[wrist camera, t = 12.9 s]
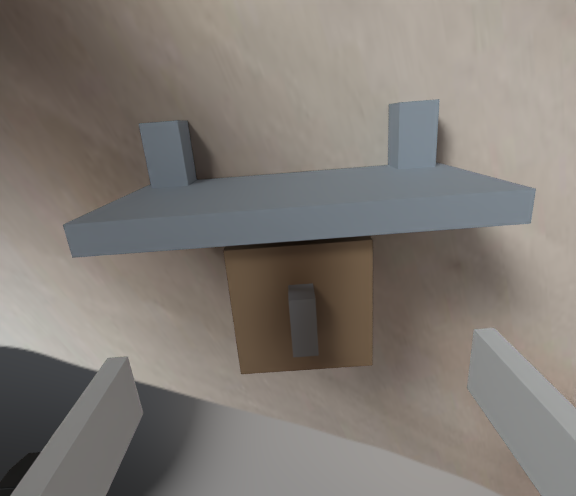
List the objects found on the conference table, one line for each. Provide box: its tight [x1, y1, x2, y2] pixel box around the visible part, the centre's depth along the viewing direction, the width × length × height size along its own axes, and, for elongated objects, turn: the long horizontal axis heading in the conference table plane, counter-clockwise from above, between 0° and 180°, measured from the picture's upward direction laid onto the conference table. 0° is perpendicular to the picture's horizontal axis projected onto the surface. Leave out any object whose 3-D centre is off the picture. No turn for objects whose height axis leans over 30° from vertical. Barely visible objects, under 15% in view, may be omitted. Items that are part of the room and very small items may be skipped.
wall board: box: [63, 99, 536, 258], centre depth 20 cm, size 20×6×11 cm, turn 94°
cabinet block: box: [223, 236, 373, 374], centre depth 22 cm, size 7×7×12 cm
